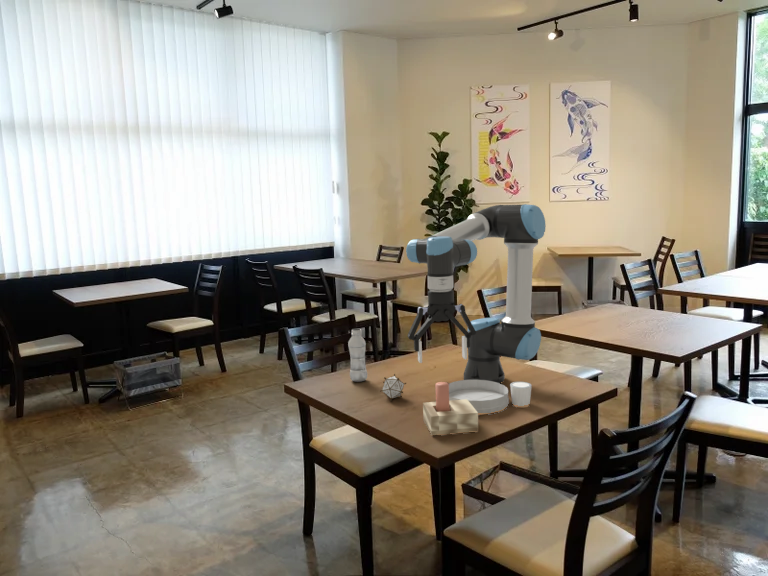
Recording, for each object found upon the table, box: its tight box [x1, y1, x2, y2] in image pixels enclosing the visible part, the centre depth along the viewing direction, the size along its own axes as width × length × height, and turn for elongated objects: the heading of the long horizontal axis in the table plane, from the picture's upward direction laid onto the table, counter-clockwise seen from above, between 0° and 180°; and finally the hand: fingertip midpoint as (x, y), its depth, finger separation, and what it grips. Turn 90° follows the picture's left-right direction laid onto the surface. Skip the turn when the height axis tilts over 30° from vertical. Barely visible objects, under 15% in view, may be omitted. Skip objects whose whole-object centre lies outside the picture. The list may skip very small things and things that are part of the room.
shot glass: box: [509, 381, 533, 406], centre depth 200 cm, size 7×7×7 cm
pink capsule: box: [434, 381, 450, 412], centre depth 183 cm, size 4×4×12 cm
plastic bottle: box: [347, 328, 368, 383], centre depth 230 cm, size 6×7×20 cm
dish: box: [449, 379, 510, 413], centre depth 203 cm, size 22×22×5 cm
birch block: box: [422, 399, 479, 436], centre depth 184 cm, size 14×12×6 cm
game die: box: [379, 373, 407, 402], centre depth 210 cm, size 9×8×10 cm
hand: (442, 360), depth 182 cm, fingers open, 13 cm apart
